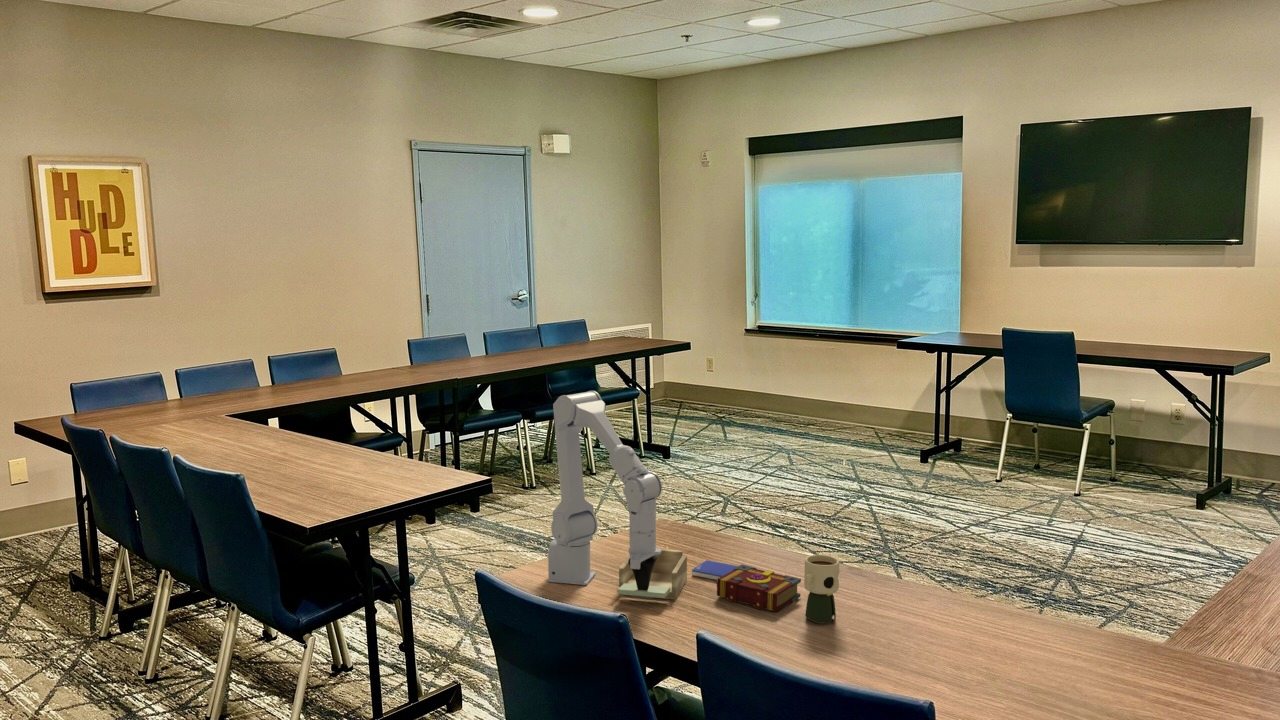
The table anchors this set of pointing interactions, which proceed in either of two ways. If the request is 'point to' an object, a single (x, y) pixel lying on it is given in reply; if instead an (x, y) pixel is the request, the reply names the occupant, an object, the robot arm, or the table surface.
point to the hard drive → (712, 569)
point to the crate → (661, 572)
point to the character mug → (821, 587)
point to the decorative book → (758, 588)
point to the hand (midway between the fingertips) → (642, 590)
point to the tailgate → (644, 591)
